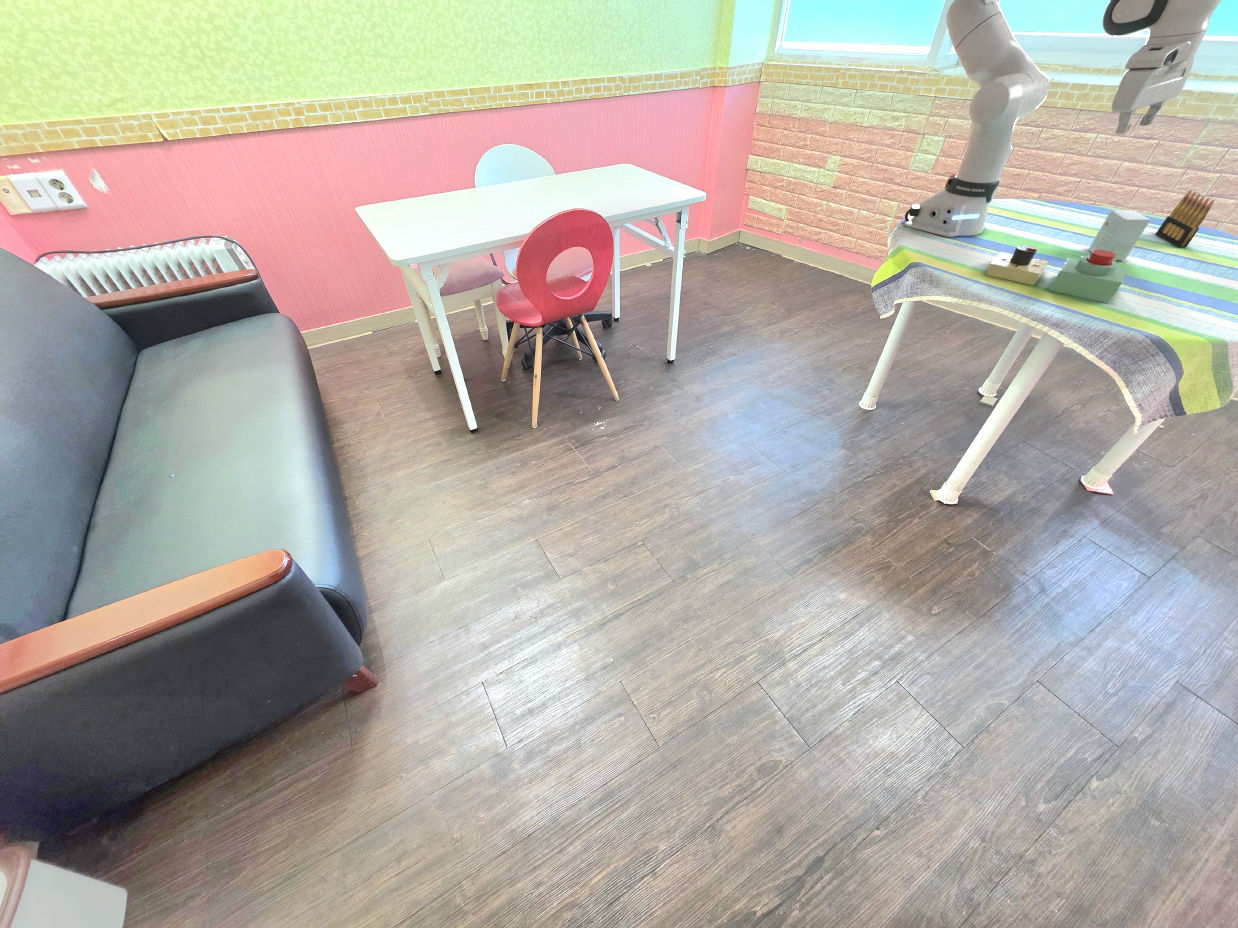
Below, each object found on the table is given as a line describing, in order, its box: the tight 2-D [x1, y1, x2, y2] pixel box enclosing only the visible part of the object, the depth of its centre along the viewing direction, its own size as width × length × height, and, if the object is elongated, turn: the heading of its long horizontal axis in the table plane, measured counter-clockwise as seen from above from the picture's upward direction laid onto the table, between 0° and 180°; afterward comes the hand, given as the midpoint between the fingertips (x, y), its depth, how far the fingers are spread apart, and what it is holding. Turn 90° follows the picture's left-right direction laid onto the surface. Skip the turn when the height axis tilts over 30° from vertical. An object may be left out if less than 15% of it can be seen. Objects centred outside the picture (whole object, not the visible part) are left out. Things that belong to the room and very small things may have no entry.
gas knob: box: [1010, 244, 1038, 265], centre depth 128 cm, size 4×4×4 cm
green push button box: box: [1048, 255, 1129, 304], centre depth 121 cm, size 12×10×7 cm
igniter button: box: [1087, 250, 1116, 266], centre depth 118 cm, size 4×4×2 cm
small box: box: [1088, 209, 1151, 261], centre depth 133 cm, size 8×6×10 cm
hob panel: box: [985, 251, 1049, 286], centre depth 130 cm, size 11×10×3 cm
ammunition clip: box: [1155, 189, 1215, 248], centre depth 138 cm, size 11×2×12 cm, turn 172°
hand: (1133, 129), depth 114 cm, fingers open, 8 cm apart
